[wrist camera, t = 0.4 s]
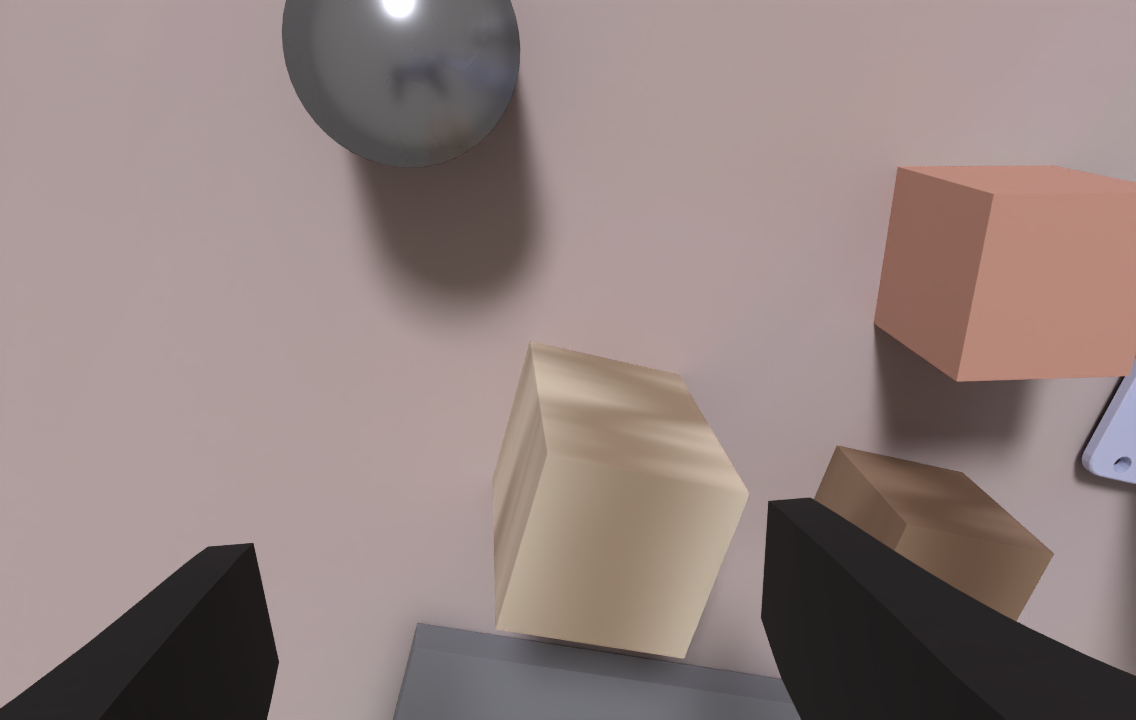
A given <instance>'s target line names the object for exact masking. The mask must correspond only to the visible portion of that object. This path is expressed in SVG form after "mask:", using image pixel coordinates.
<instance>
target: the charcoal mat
mask: <svg viewBox="0 0 1136 720" xmlns="http://www.w3.org/2000/svg"><path fill="white" fill-rule="evenodd" d="M393 720H801V718H800V716H799V714H798V712H797V710H796V708H795V706H794V704H793V702H792V700H791V698H790V696H789V694H788V692H787V689H786V687H785V685H784V683H783V681H782V679H776V678H770V677H763V676H757V675H750V674H744V673H737V672H731V671H724V670H718V669H711V668H705V667H698V666H692V665H685V664H679V663H672V662H666V661H659V660H653V659H646V658H640V657H633V656H627V655H620V654H614V653H607V652H601V651H594V650H588V649H581V648H575V647H568V646H562V645H555V644H549V643H542V642H536V641H529V640H523V639H516V638H510V637H503V636H497V635H490V634H484V633H477V632H471V631H464V630H458V629H451V628H445V627H438V626H432V625H425V624H419V623H417V627H416V631H415V635H414V639H413V643H412V647H411V651H410V655H409V659H408V662H407V666H406V670H405V674H404V678H403V682H402V686H401V690H400V694H399V698H398V702H397V706H396V710H395V714H394V718H393Z"/></svg>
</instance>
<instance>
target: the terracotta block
mask: <svg viewBox="0 0 1136 720" xmlns="http://www.w3.org/2000/svg"><path fill="white" fill-rule="evenodd" d="M874 324H875V325H877V326H878V327H880V328H881V329H882V330H884V331H885V332H887V333H888V334H889V335H891V336H892V337H894V338H895V339H897V340H898V341H899V342H901V343H902V344H904V345H905V346H907V347H908V348H909V349H911V350H912V351H914V352H915V353H916V354H918V355H919V356H921V357H922V358H924V359H925V360H926V361H928V362H929V363H931V364H932V365H934V366H935V367H936V368H938V369H939V370H941V371H942V372H943V373H945V374H946V375H948V376H949V377H951V378H952V379H953V380H955V381H956V382H962V381H992V380H1023V379H1053V378H1083V377H1114V376H1130V373H1131V369H1132V366H1133V362H1134V359H1135V355H1136V183H1135V182H1130V181H1125V180H1120V179H1115V178H1110V177H1105V176H1100V175H1096V174H1091V173H1086V172H1081V171H1076V170H1071V169H1066V168H1061V167H1057V166H935V167H898V170H897V176H896V183H895V189H894V196H893V202H892V208H891V215H890V221H889V228H888V234H887V241H886V247H885V254H884V260H883V267H882V273H881V280H880V286H879V293H878V299H877V306H876V312H875V319H874Z"/></svg>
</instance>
